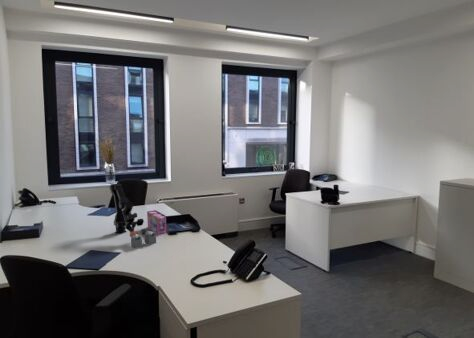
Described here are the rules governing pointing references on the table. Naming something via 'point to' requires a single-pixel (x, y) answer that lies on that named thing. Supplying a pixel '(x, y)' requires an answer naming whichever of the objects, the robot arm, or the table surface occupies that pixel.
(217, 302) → the table surface
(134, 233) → the copper plunger
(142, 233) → the black plunger
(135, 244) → the bed
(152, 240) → the grey u-shaped block
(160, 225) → the gum box
